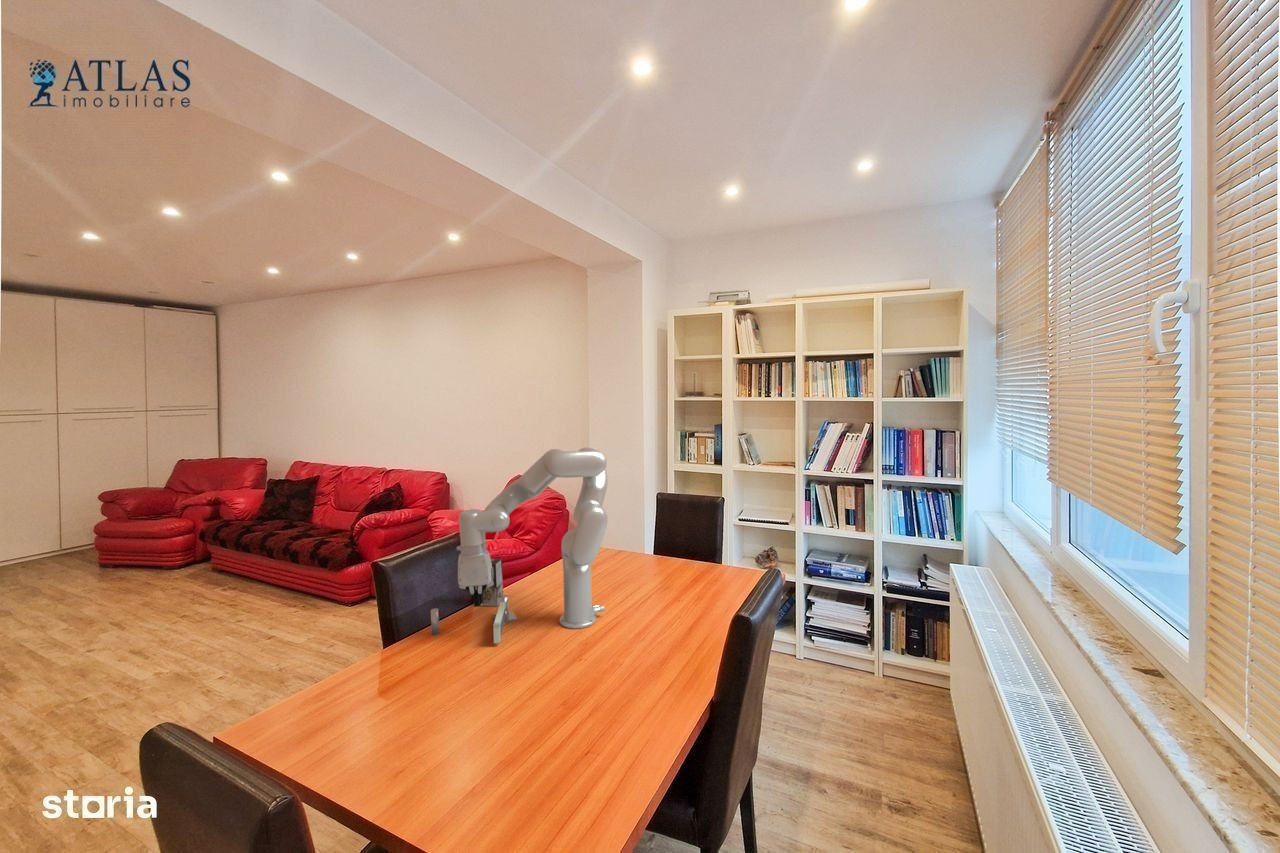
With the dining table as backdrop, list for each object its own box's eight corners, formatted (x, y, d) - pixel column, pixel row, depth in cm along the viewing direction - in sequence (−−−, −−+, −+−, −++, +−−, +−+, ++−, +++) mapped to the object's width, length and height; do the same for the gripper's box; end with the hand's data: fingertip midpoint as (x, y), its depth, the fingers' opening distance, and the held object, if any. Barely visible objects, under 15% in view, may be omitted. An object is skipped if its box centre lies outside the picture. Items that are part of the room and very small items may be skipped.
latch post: (438, 631, 166) (438, 607, 165) (439, 634, 163) (438, 610, 163) (431, 633, 164) (430, 609, 164) (431, 636, 162) (431, 612, 162)
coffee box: (503, 599, 191) (502, 558, 190) (497, 606, 185) (496, 564, 184) (481, 599, 192) (479, 558, 191) (473, 606, 186) (472, 563, 185)
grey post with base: (512, 613, 179) (511, 591, 179) (517, 620, 173) (516, 598, 172) (492, 617, 176) (491, 595, 175) (496, 625, 170) (495, 602, 169)
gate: (501, 618, 172) (500, 601, 172) (506, 617, 172) (506, 601, 172) (493, 643, 154) (493, 625, 154) (499, 642, 155) (499, 624, 154)
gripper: (446, 554, 155) (450, 611, 156) (494, 550, 155) (499, 608, 157) (453, 546, 162) (458, 601, 163) (500, 543, 163) (504, 598, 164)
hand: (478, 604), depth 160 cm, fingers closed
